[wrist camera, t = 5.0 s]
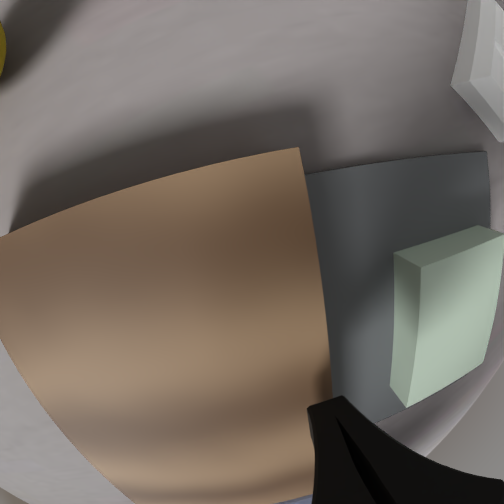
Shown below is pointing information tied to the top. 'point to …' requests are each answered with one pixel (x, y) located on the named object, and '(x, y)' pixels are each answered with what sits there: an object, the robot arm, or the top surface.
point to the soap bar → (482, 64)
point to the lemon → (2, 48)
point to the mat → (383, 255)
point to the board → (178, 331)
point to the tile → (443, 310)
